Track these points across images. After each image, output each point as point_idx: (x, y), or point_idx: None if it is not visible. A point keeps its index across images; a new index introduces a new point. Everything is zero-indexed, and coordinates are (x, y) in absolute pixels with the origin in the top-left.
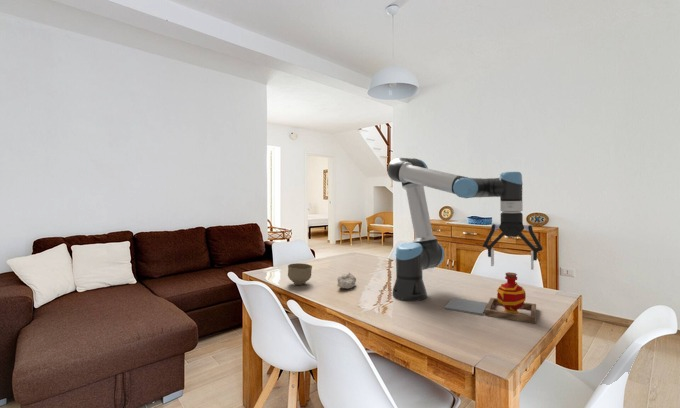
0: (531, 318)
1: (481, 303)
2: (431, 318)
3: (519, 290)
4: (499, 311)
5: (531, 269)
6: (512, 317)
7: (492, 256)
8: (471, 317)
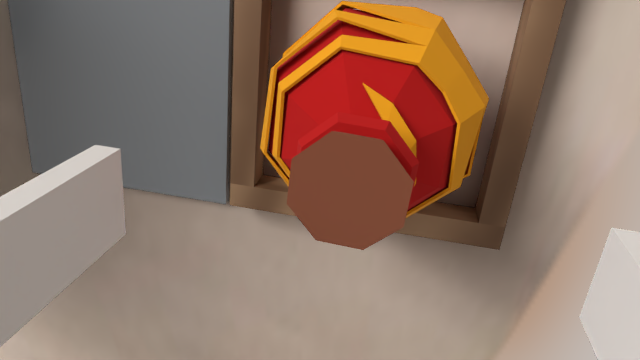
0: (477, 241)
1: (194, 12)
2: None
3: (427, 196)
4: None
5: (584, 320)
6: None
7: (30, 310)
8: (185, 246)
